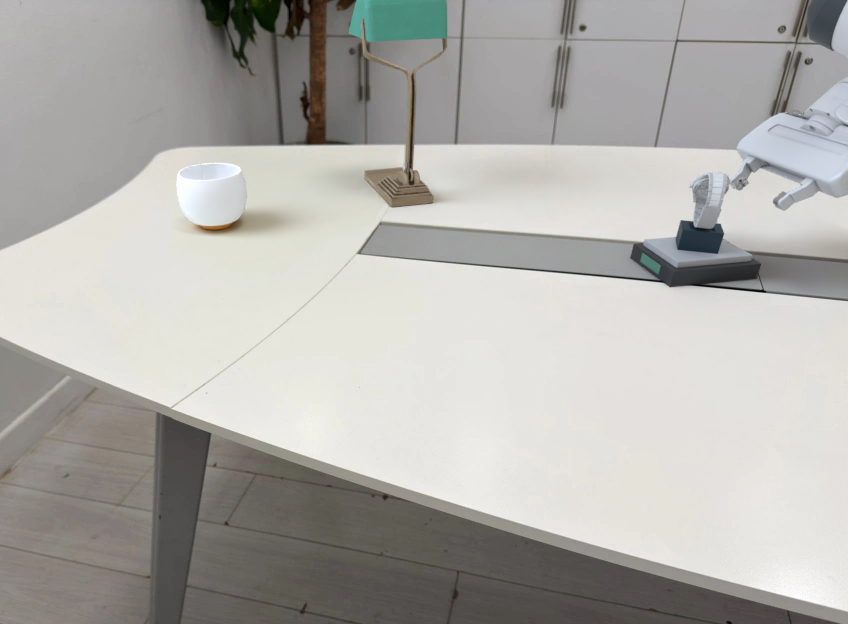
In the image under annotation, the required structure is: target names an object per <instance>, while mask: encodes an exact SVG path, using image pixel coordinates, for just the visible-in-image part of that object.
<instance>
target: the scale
mask: <svg viewBox="0 0 848 624" xmlns="http://www.w3.org/2000/svg"><path fill="white" fill-rule="evenodd" d="M675 239H676V236H670V237H659V238H646V239H645V238H644V240H643V242H638V243H636V242H635V243H633V245H632V249H631V252H630V259H631V260H633V261H634V262H635V263H637V264H638V265H640V266H641V267H642V268H644V269H645V270H646V271H648V272H649V273H651V274H652V275H653V276H654V277H656V278H657V279H658V280H660V281H661V282H662V283H664V284H665V285H667V286H668V287H680V286H682V287H683V286H692V285H702V284H712V283H713V284H715V283H722V282H723V283H724V282H734V281H744V280H756V279H757V278H758V275H759V273H760V269H761V267H762V263H761V262H759V261H758V260H756V259H754V258H753V254H752V253H750V252H748V251H747V250H744V249H743V248H742V247H739V246H737V245H736V244H734V243H732V242H731V241H730V240H729V241H728V240H727V239H725V238H723V239H722V243H721V246H720V249H719V252H718V254H714V253H704V252H694V251H684V250H677V245H676V240H675Z"/></svg>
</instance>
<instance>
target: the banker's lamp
mask: <svg viewBox="0 0 848 624" xmlns="http://www.w3.org/2000/svg"><path fill="white" fill-rule="evenodd" d="M354 3H355V4H354V7H353V12H352V17H351V20H350V24H349V30H348V34H350V35H352V36H354V37H357V38H358V39H361V43H362V55H363V57H364V58H365V59H366V60H368V61H371V62H373V63H376V64H380V65H382V66H386V67H388V68H391V69H395V70H397V71H401V72H403V74H405V76H406V80H407V81H406V82H407V101H406V102H407V103H406V104H407V105H406V128H405V129H406V130H405V151H404V152H405V153H404V167H403V166H400V167H399V166H398V167H389V168H376V169H365V170H364V172H363V173H364V175H363V176H364V177H363V178H364V180H365V181H366V182H367V183H368V184H369V186H370V187H371V188H373V189H374V191H375V192H376V193H377V194H378V195H379V196H380V197H381V198H382V199H383V200H384V201H385V202H386V204H388V205H389V207H390V208H398V207H405V206H406V207H407V206H416V205H426V204H433V203H434V194H433V193H432V191H430V189H429V187H428V185H427V184H426V183H425V182H423V180H421V176H420V173H419V171H418V170H417V169H414V155H415V137H416V136H415V133H416V113H417V112H416V111H417V77H416V76H417V72H418V71H419V70H420V69H421V68H423V67H425V66H426V65H427V64H429V63H431V62H433V61H435V60H436V59H438V58H440V57H441V56H442V55H443V54H444V53H445V51H447V49H448V3H447V0H356V1H355V2H354ZM438 39H441V41H442V42H441V43H442V51H440V52H439V53H437V54H435V55H434V56H431V58H429V59H428V60H426V61H425V62H423V63H421V64H420V65H418V66H417V67H415V68H414V69H413V70H412V71H411V72H410V71H409V70H408V69H407V68H405V67H403V66H401V65H398V64H395V63H393V62H391V61H389V60H385V59H383V58H381V57H379V56H376V55H373V54H372V53H370V52H369V50H368V49H367V42H370V43H372V42H373V43H379V42H396V41H397V42H399V41H417V40H438Z"/></svg>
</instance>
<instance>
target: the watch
mask: <svg viewBox="0 0 848 624" xmlns="http://www.w3.org/2000/svg"><path fill="white" fill-rule="evenodd" d="M730 179H731V178H730V177H729V174H728V173H724V172H721V171H714V170H712V171H707V172H703V173H701V174H699V175H698V176H696V177H695V178H694V179H693V181H692V182H689V184H688V188H689V189H691V192H692V200H693V203H695V204H694V210H693V220H683V219H681V220H680V221H679V224H678V229H677V232H676V235H675V237H676V239H675V240H676V245H677V250H684V251H694V252H704V253H714V254H718V252H719V249H720V246H721V243H722V239H724V236H725V232H724V229H723V226H722V224H721V223H718V219H719V217H720V214H721V212H722V206H723V202H724V198H725V195H726V194H727V193H728V191H729V189H730V186H731V185H730Z"/></svg>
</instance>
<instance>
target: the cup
mask: <svg viewBox="0 0 848 624" xmlns="http://www.w3.org/2000/svg"><path fill="white" fill-rule="evenodd" d="M175 184H176V185H175V186H176V194H177V200H178V204H179V206H180V209H181V211H182V213H183V215H184V217H186V218H187V220H189V221H190V222H191V223H192V224H194V225H198V226H200V227H201V228H202V229H204V230H211V231H216V230H224V229H226V228H229V227H230V226H232V224H233V223H234V222H236V221H238V220H239V219H240V218H241V216H242V215H243V213H244V211H245V210H246V205H247V199H248V191H247V181H246V179H245V176H244V173H243V170H242V168H241V167H240V166H238V165H236V164H233V163H227V162H204V163H203V162H202V163H198V164H193V165H189V166H185V167H183V168H181V169H180V170H178V171H177V174H176V183H175Z"/></svg>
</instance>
